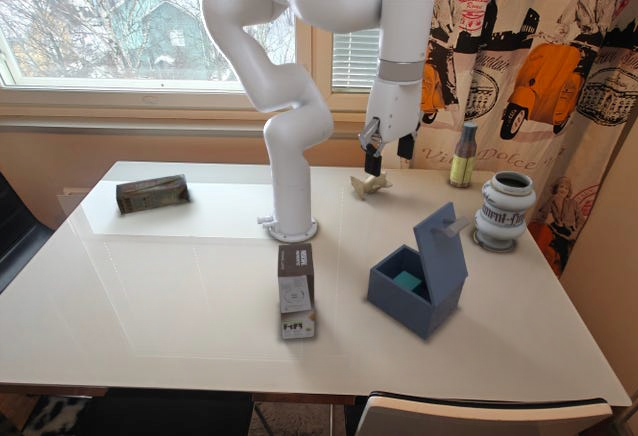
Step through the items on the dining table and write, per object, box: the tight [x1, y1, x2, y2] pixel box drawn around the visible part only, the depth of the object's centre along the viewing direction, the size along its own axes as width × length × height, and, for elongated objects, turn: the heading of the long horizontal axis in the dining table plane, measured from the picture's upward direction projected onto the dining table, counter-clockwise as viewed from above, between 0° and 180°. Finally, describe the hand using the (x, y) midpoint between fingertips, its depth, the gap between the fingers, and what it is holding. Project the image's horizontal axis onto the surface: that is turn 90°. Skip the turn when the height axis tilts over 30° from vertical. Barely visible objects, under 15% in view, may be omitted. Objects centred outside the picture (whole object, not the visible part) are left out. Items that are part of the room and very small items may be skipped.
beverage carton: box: [115, 173, 191, 216], centre depth 111 cm, size 8×19×7 cm, turn 113°
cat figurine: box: [349, 170, 393, 200], centre depth 116 cm, size 8×7×12 cm
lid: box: [412, 201, 470, 307], centre depth 68 cm, size 15×12×5 cm
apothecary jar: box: [472, 170, 537, 253], centre depth 94 cm, size 12×12×18 cm
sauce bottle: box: [449, 121, 479, 189], centre depth 118 cm, size 7×6×20 cm
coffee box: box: [277, 242, 316, 340], centre depth 73 cm, size 9×6×16 cm
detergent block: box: [393, 271, 422, 296], centre depth 81 cm, size 4×4×4 cm
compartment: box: [366, 243, 467, 341], centre depth 79 cm, size 15×12×9 cm
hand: (388, 165), depth 72 cm, fingers open, 9 cm apart
